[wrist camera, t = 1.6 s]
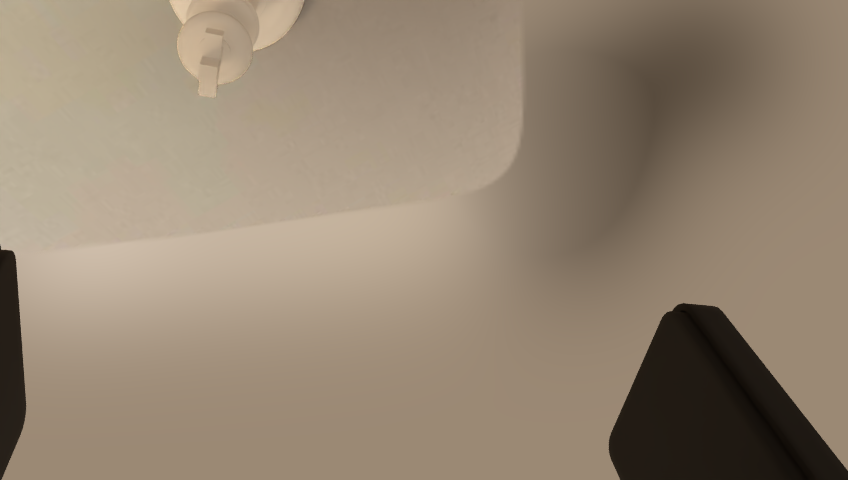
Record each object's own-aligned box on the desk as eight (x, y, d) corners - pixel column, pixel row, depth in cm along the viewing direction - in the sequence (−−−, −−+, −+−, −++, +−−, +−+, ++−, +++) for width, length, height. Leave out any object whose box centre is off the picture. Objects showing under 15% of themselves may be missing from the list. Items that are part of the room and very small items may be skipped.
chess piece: (160, 34, 28) (98, 145, 20) (171, -108, 26) (107, -51, 17) (293, 60, 29) (290, 177, 21) (316, -73, 27) (323, -3, 19)
